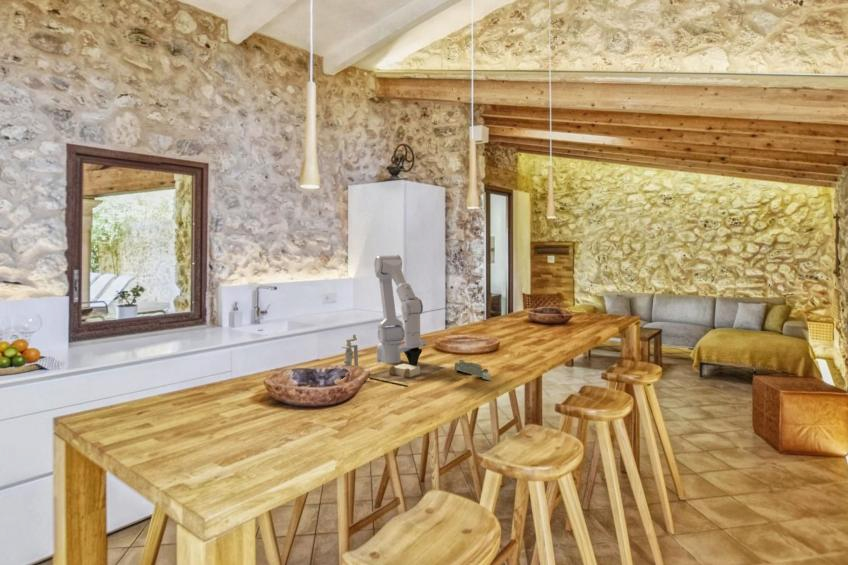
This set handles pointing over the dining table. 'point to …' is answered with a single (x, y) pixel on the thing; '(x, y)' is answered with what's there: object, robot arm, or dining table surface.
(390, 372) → the bench board
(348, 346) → the clamp
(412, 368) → the cream rectangular block
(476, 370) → the metal bracket
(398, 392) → the dining table surface
